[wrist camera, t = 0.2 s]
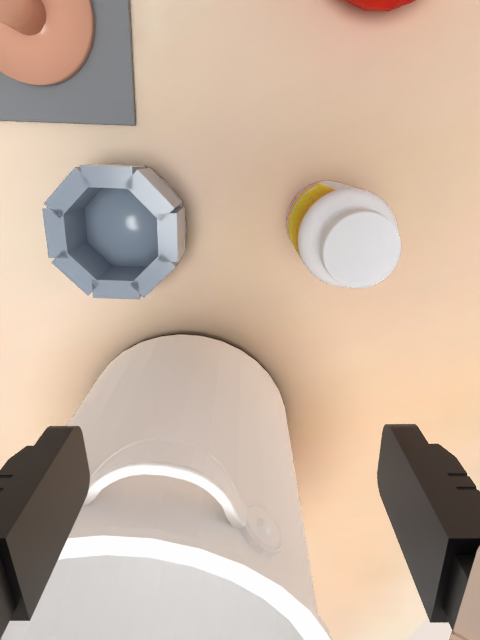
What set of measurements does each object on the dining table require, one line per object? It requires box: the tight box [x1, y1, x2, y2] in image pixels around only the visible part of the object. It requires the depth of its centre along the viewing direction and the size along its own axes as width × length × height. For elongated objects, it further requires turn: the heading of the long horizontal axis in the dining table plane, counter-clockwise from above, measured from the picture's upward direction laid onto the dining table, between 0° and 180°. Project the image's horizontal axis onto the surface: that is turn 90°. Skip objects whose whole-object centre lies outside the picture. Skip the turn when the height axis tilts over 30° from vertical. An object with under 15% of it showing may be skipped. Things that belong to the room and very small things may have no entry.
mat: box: [0, 0, 136, 125], centre depth 32 cm, size 14×14×1 cm
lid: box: [0, 0, 95, 86], centre depth 29 cm, size 9×9×6 cm
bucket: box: [1, 334, 332, 640], centre depth 33 cm, size 26×22×24 cm
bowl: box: [42, 164, 186, 299], centre depth 35 cm, size 10×10×6 cm
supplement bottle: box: [286, 181, 401, 288], centre depth 31 cm, size 7×7×13 cm
